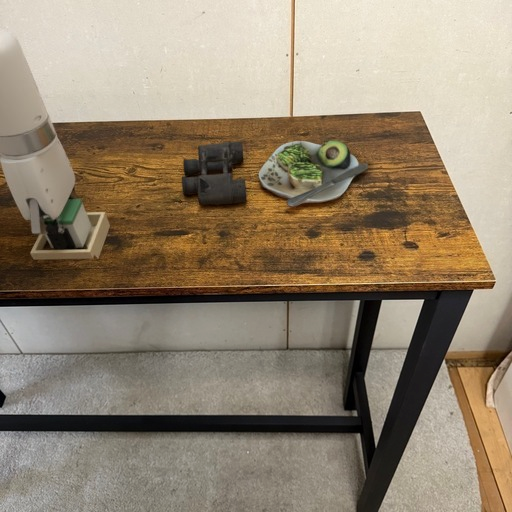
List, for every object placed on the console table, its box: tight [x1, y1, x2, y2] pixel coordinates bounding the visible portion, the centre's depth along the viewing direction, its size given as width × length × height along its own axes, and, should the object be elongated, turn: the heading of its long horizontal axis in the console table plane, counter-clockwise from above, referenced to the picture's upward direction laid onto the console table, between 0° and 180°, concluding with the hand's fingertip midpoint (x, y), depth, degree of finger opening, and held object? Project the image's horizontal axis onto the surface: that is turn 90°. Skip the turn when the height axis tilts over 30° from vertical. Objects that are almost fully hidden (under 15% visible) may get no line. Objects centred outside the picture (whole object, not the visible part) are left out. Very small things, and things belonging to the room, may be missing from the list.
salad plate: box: [258, 139, 369, 208], centre depth 81 cm, size 19×18×5 cm
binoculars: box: [181, 141, 248, 206], centre depth 81 cm, size 11×16×6 cm
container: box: [43, 198, 92, 249], centre depth 70 cm, size 5×5×6 cm
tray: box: [29, 211, 111, 261], centre depth 72 cm, size 9×9×3 cm
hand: (70, 234), depth 72 cm, fingers closed on container, 5 cm apart
